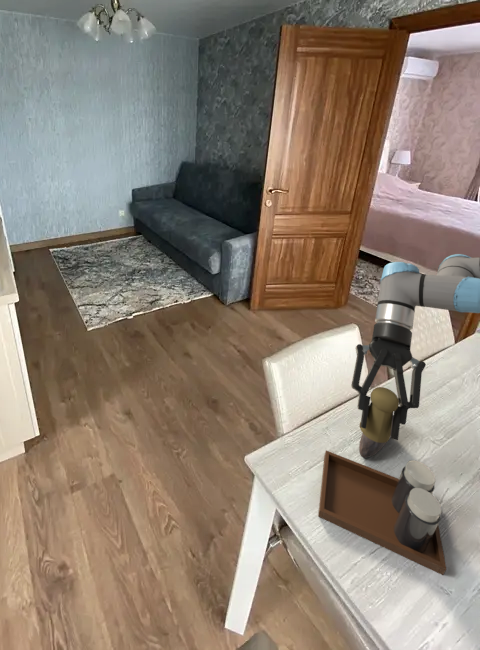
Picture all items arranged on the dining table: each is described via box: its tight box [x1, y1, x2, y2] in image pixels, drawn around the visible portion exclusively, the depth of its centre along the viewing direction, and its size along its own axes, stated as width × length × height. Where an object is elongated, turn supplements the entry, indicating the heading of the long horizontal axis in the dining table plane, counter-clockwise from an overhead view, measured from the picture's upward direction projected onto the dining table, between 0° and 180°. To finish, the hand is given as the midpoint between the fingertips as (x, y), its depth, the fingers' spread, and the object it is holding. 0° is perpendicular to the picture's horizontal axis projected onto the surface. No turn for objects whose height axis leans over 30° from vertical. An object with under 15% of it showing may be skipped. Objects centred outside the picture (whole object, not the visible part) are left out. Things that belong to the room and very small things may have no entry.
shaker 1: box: [392, 460, 437, 513], centre depth 72 cm, size 6×6×11 cm
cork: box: [359, 386, 399, 443], centre depth 75 cm, size 6×6×11 cm
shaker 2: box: [394, 488, 443, 553], centre depth 67 cm, size 6×6×11 cm
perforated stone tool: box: [358, 414, 394, 459], centre depth 87 cm, size 15×5×7 cm, turn 128°
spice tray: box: [317, 450, 447, 576], centre depth 73 cm, size 22×15×3 cm
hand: (378, 433), depth 72 cm, fingers closed on cork, 5 cm apart
